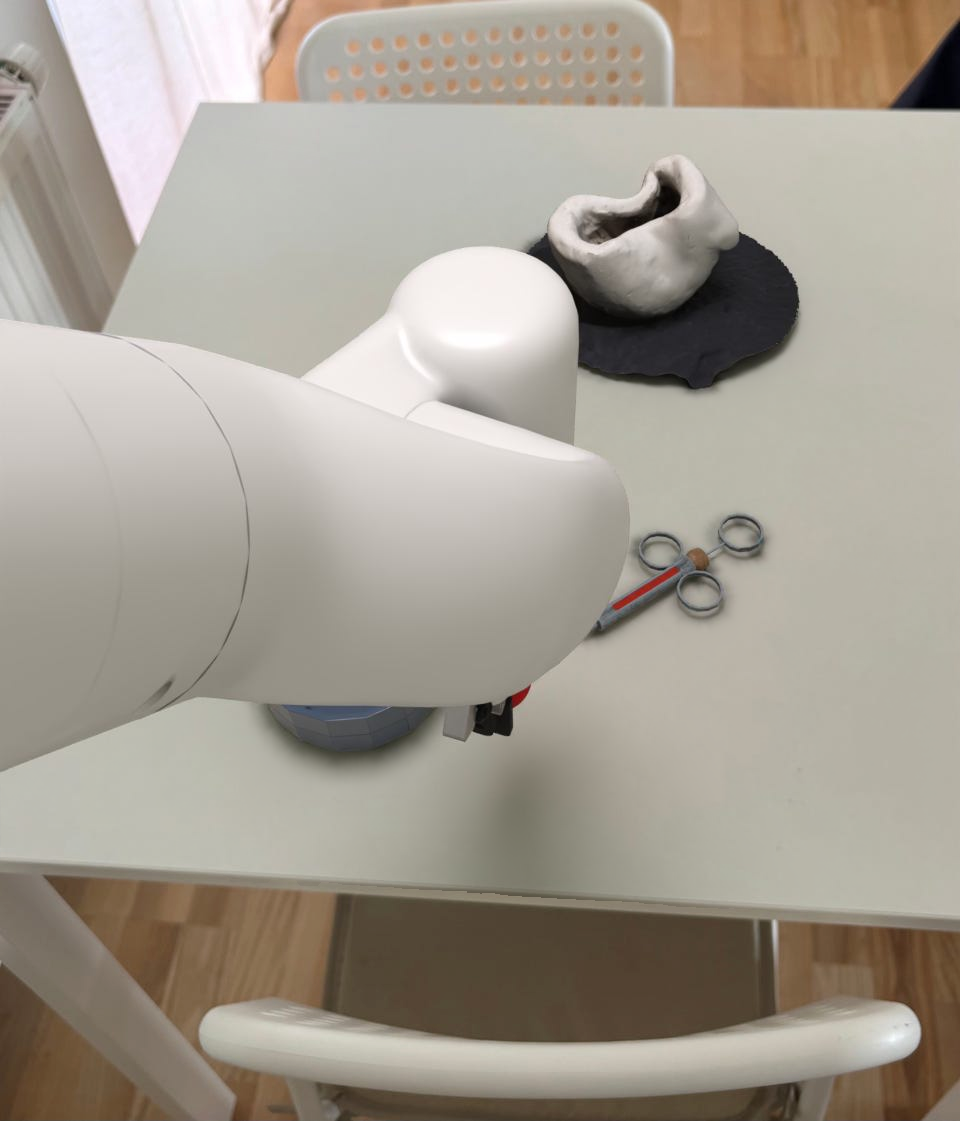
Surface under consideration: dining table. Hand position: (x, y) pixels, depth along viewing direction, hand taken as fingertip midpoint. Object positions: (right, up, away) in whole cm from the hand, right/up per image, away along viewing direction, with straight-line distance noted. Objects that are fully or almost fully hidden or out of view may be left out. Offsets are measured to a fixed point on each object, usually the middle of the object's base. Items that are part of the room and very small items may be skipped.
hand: (498, 691), depth 66 cm
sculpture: (+14, +31, +33) cm, 47 cm away
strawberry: (0, 0, 0) cm, 0 cm away
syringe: (+12, +6, +15) cm, 20 cm away
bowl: (-10, 0, +12) cm, 16 cm away
